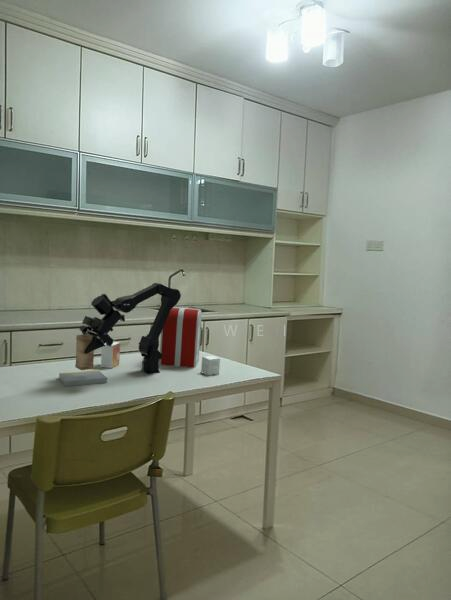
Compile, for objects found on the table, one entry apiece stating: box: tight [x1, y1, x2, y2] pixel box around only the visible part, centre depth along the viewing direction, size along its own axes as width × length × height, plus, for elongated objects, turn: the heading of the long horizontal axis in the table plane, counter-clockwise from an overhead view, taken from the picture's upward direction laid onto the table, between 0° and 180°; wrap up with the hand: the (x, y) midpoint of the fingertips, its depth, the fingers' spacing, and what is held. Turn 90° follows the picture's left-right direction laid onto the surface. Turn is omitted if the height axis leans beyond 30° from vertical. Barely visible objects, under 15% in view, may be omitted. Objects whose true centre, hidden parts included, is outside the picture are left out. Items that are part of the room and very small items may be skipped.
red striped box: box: [159, 306, 203, 369], centre depth 223 cm, size 16×18×27 cm
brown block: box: [75, 334, 95, 371], centre depth 181 cm, size 5×5×13 cm
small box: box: [100, 341, 121, 369], centre depth 208 cm, size 8×6×10 cm
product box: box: [200, 355, 221, 376], centre depth 208 cm, size 6×6×7 cm
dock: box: [58, 369, 108, 387], centre depth 184 cm, size 16×12×2 cm
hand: (81, 351), depth 180 cm, fingers closed on brown block, 5 cm apart
